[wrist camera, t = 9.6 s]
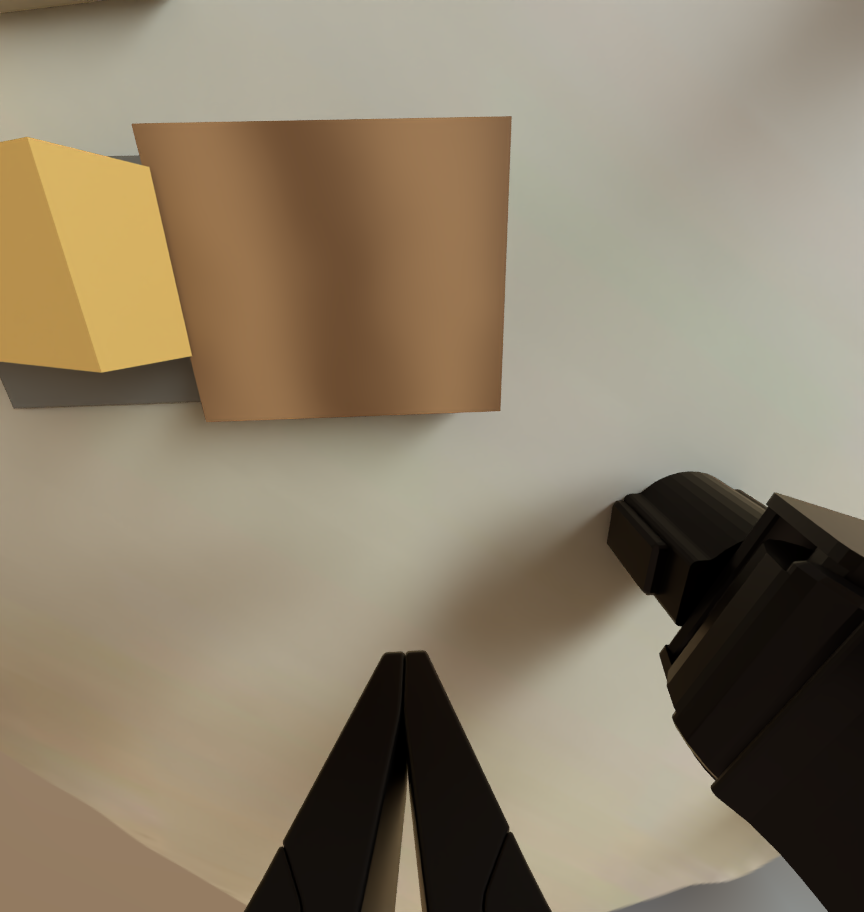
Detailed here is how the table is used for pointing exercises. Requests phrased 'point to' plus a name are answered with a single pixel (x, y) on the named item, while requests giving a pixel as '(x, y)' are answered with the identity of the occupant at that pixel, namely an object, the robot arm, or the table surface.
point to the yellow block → (83, 262)
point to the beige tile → (35, 4)
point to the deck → (337, 262)
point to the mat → (100, 380)
